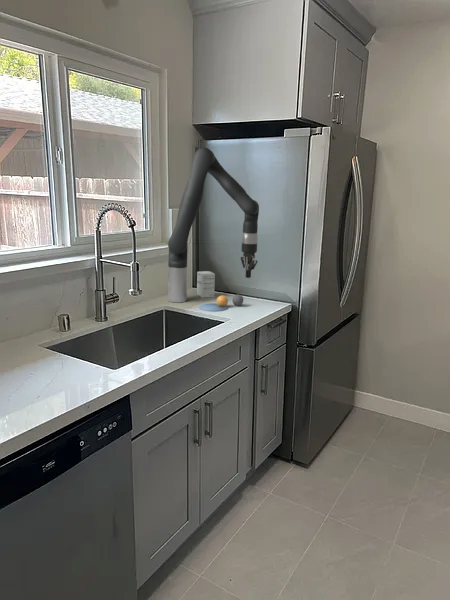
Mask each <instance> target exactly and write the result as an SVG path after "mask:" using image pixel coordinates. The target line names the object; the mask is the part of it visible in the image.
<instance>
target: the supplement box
mask: <svg viewBox="0 0 450 600" xmlns="http://www.w3.org/2000/svg"><path fill="white" fill-rule="evenodd" d="M196 277H197V278H196V295H197V296H199V297H200V298H202V299H204V298H205V299H206V298H214V297H215V288H216V287H215V284H216V282H215V281H216V280H215V279H216V278H215V277H216V275H215V273H214V272H213V271H209V270H207V271H206V270H205V271H204V270H202V271H197V272H196Z"/></svg>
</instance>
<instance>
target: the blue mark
mask: <svg viewBox="0 0 450 600" xmlns="http://www.w3.org/2000/svg"><path fill="white" fill-rule="evenodd" d="M198 309H199V310H201V309H202V310H201V311H205V310H206V312H224V311H226V310H229V306H227V305H226V306H224V307H220V306H219V305H218V304H217V303H203V304H201V305H199V306H198Z"/></svg>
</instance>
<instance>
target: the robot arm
mask: <svg viewBox="0 0 450 600" xmlns="http://www.w3.org/2000/svg"><path fill="white" fill-rule="evenodd" d="M208 174H210V175H211V176H212V177H213V178H214V179H215V180H216V182H218V183H219V185H220V186H221V187H222V189H223V190H224V192H226V194H227V195H229V197H231V199H232V200H233V201H234V202H235V203H236V204H237V205H238V207H239V208H240V210H242V211H243V213H244V220H243V223H242V224H243V225H242V235H241V236H242V237H241V249H240V250H241V251H240V252H242V253H243V255H242V256H241V257H240V261H241V265H242V268H243V269H244V270H245V278H246V279H250V278H251V277H252V270H255V268H256V266H257V264H258V260H256V255H255V253H257V252H258V239H259V238H258V221H259V215H260V214H259V212H260V206H259V203H258V201H257V200H254V199H253V198H251V196H250V195H249V194H248V193H247V191H246V190H245V189H244V187H243V186H242V185H241V184H240V183H239V182H238V181H237V180H236V178H234V177H233V176H232V175H230V174H229V172H228V171H227V170H225V169H224V167H223V166H222V165H221V163H220V162H219V160H218V159H217V157H216V156H215V154H214V152H213V151H212V150H211V149H209V148H208V147H200V148H198V149H197V150H196V151H195V153H194V155H193V160H192V165H191V170H190V174H189V178H188V180H187V183H186V185H185V188H184V191H183V194H182V197H181V200H180V203H179V207H178V211H177V215H176V216H177V217H176V222H175V225H174V228H173V230H172V233H171V236H170V237H169V239H168V242H167V246H168V259H167V260H168V261H167V263H168V266H167V268H168V271H167V272H168V280H167V281H168V282H167V283H168V285H167V286H168V287H167V288H168V290H167V294H168V296H167V298H168V301H167V302H169V303H170V302H172V303H184V302H187V300H188V297H187V296H188V295H187V294H188V246H189V245H188V239H189V235H190V231H191V229H192V226H193V224H194V223H195V219H196V217H197V215H198V212H199V210H200V208H201V207H200V206H201V203H202V200H203V196H204V188H205V182H206V181H205V180H206V178H207V175H208Z"/></svg>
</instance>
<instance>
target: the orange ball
mask: <svg viewBox="0 0 450 600" xmlns="http://www.w3.org/2000/svg"><path fill="white" fill-rule="evenodd" d="M228 303H229V299H228V297H227V296H226V295H219V296H218V297H216V304H218V305H219V306H220V307H224V306H227V305H228Z"/></svg>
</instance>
